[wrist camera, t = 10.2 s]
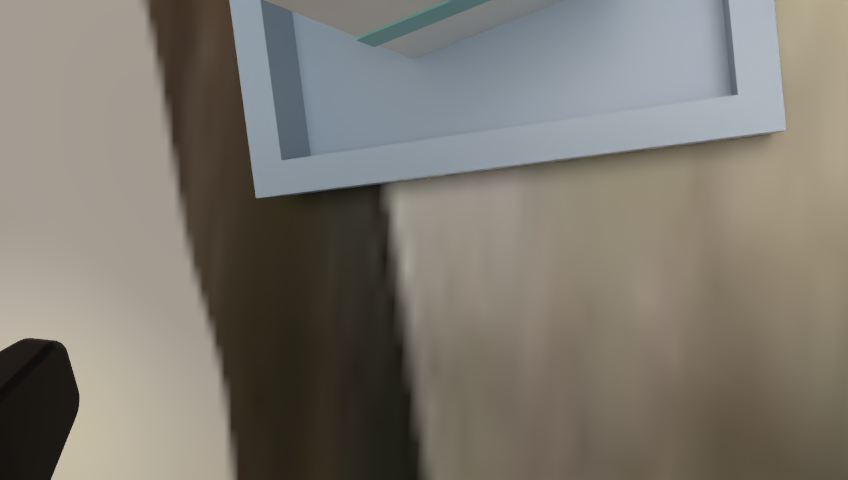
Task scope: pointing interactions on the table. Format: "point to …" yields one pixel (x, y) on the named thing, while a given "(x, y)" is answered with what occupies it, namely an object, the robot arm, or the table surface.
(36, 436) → the robot arm
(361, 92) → the drip tray
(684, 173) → the table surface
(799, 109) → the table surface
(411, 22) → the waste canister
